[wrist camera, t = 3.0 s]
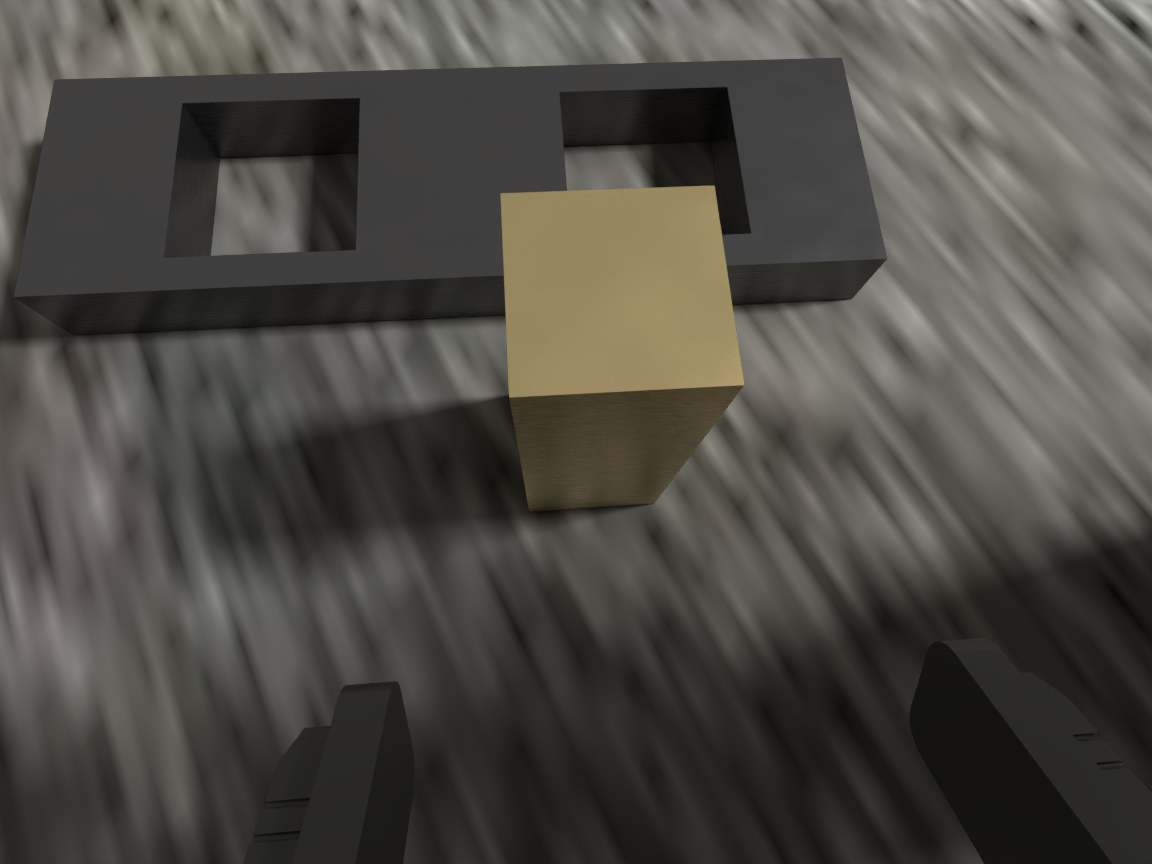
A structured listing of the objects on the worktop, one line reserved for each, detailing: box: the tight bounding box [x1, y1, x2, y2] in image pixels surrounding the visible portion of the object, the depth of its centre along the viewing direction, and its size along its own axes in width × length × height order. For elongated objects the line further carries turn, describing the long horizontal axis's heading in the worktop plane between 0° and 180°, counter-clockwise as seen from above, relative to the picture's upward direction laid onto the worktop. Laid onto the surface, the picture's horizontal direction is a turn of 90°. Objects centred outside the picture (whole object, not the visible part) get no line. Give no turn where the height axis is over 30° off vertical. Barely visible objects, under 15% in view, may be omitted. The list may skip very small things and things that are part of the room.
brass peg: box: [500, 185, 744, 511], centre depth 19 cm, size 4×4×12 cm
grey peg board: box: [14, 58, 887, 335], centre depth 26 cm, size 30×9×3 cm, turn 94°
